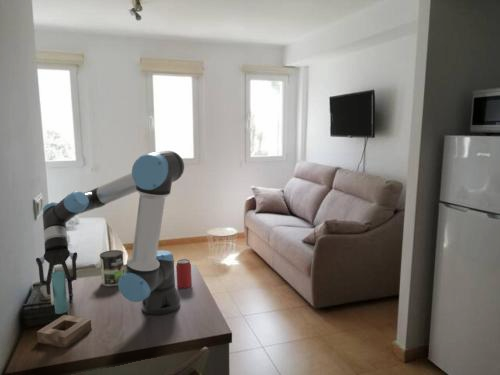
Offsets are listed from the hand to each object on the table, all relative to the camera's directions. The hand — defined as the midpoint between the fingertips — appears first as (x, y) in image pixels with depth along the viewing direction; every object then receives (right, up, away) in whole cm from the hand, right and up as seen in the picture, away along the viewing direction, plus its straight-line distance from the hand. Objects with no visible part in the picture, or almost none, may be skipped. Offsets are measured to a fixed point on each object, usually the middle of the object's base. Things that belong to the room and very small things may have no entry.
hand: (60, 301), depth 125 cm
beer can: (+34, -7, +45) cm, 57 cm away
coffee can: (-1, -7, +51) cm, 52 cm away
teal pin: (-2, -5, +4) cm, 7 cm away
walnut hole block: (-1, -14, +6) cm, 15 cm away
